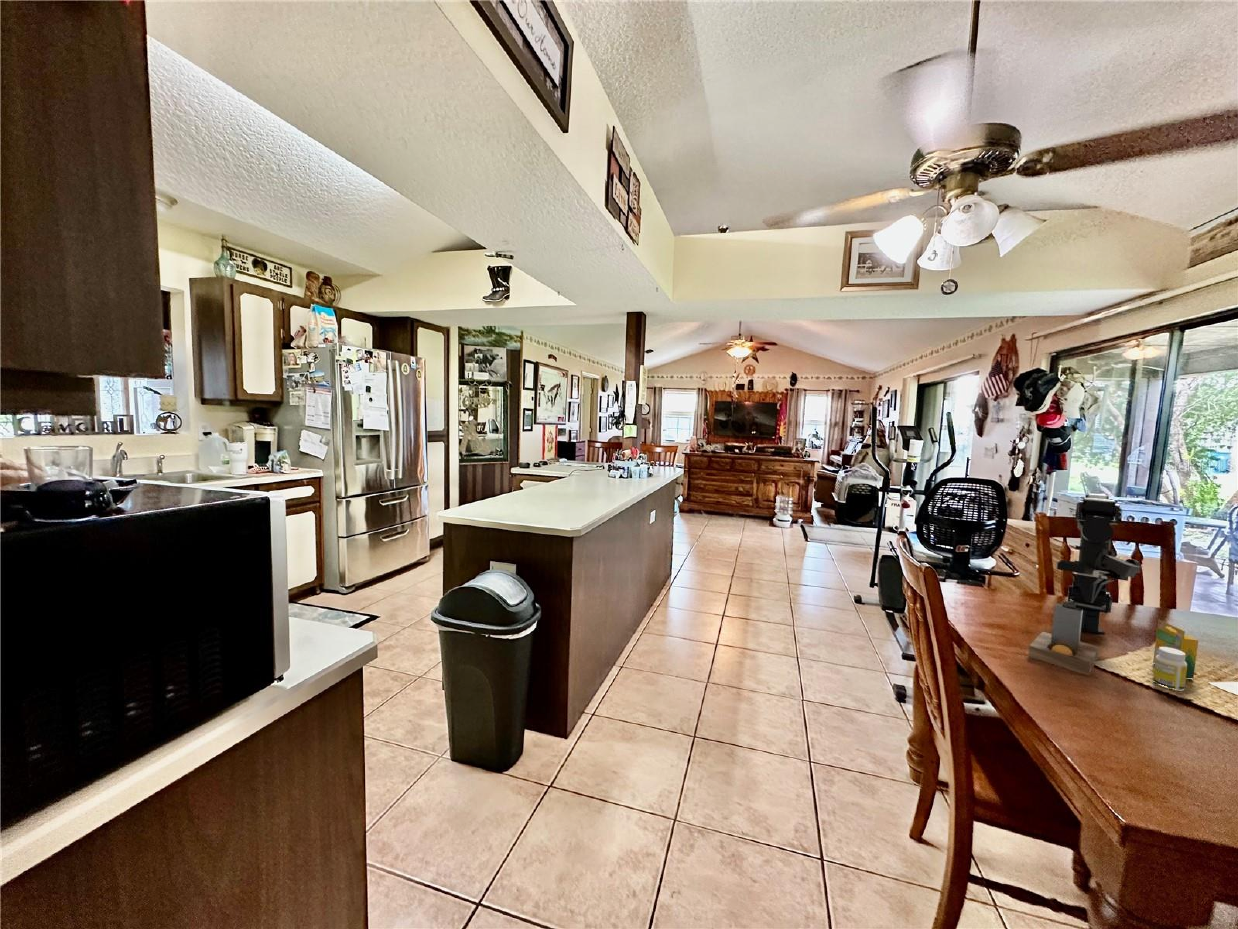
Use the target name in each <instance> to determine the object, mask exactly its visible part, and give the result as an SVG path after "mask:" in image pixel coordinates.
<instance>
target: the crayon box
mask: <svg viewBox="0 0 1238 929" xmlns="http://www.w3.org/2000/svg"><path fill="white" fill-rule="evenodd" d="M1156 629H1157V630H1156V636H1155V644H1154V646H1155V647H1154V651H1153V652H1154V653H1153V658H1152V664H1153V663H1155V657H1156V655H1159V654H1158V650H1159V647H1169V648H1173V649H1177V650H1180V651H1182V652H1184V653H1185V654H1186V655H1185V660H1184V661H1185V662H1186V663H1187V672H1186V678H1194V677H1195V671H1196V670H1195V668H1196V661H1197V655H1198V654H1197V653H1198V652H1197V651H1198V648H1199V640H1198V639H1195V638H1194V637H1191V636H1189V635H1187V634H1185V633H1186V632H1185V630H1184V629H1181V628H1178V627H1177V626H1174V625H1173V624H1169V623H1168V622H1165V621H1163V620H1161V619H1158V621H1157V628H1156ZM1194 679H1195V678H1194Z"/></svg>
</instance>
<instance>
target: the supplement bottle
mask: <svg viewBox="0 0 1238 929" xmlns="http://www.w3.org/2000/svg"><path fill="white" fill-rule="evenodd" d="M1158 654H1159V655H1156V657H1155V665H1153V666H1154V668H1153V675H1152V677H1153V678H1152V681H1155V682H1156V683H1157V684H1161V685H1164V686H1167V687H1168V688H1174V689H1177V690H1183V689H1184V690H1185V688H1186V681H1187V680H1186V672H1187V663H1186V662H1185V661H1184V660H1185V655H1186V654H1185V653H1184V652H1182V651H1180V650H1177V649H1173V648H1169V647H1159V650H1158ZM1157 684H1156V685H1157Z"/></svg>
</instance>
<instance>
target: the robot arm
mask: <svg viewBox="0 0 1238 929" xmlns="http://www.w3.org/2000/svg"><path fill="white" fill-rule="evenodd" d="M1078 501H1079V502H1076V506H1075V507H1076V509H1075V516H1074V517H1075V519H1074V521H1075V522H1077V529H1078V530H1079V532H1080V542H1079V545H1075V550H1078V551H1079V553H1078V560H1074V561H1072V560H1066V559H1060V560H1059V561H1057V562H1056V568H1055V569H1056V570H1058V571H1059V570H1060V571H1063V572H1065V571H1066V572H1070V576H1072V578H1073V579H1072V585H1068V591H1067V592H1068V594H1067V601H1070V602H1073V603H1075V604H1076V605H1075V608H1079V609H1083V614H1082V624H1081V632H1089V633H1097V634H1106V632H1105V630H1103V629H1101V628H1100V619H1101V613H1104V614H1108V613H1109V614H1110V613H1111V612H1112V603H1113V597H1112V596H1111V595H1110V594H1111V592H1110V591H1109V592H1108V591H1107V588H1108V587H1107V584H1108V583H1110V582H1111V583H1112V582H1114V581H1115V580H1119V581H1126V582H1129V578H1131V579H1134V578H1135V576H1136V574H1140V573H1141V572H1142V570H1141V568H1142V566H1141V563H1140V561H1138V560H1136V559H1133V558H1127V559H1122V558H1119V557H1116V552H1115V551H1114V550H1112V549H1111V541H1112V538H1113V537H1114V529H1113V527H1112V526H1113V525H1119V523H1122V521H1123V520H1122V519H1123V514H1122V513H1123V510H1122V508H1121V505H1120V504H1118V503H1116V502H1117V501H1116V500H1115V499H1110V495H1107V494H1103V493H1102V494H1101V493H1092V492H1091V493H1090V492H1089V493H1085V496H1084V497H1083V498H1082V499H1081V500H1078ZM1114 579H1115V580H1114Z"/></svg>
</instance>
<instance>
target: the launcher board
mask: <svg viewBox="0 0 1238 929" xmlns="http://www.w3.org/2000/svg"><path fill="white" fill-rule="evenodd" d="M1051 636H1052V633H1049V632H1045V631H1042V632H1041V633H1040V634H1039V635H1038V636H1037V637H1036V638H1035V639H1034V640H1033V641H1032V642H1031V644H1030V645H1029V647H1028V656H1027V657H1028V658H1029V657H1032V658H1031V659H1033V658H1034V659H1033V660H1036V659H1038V660H1037V661H1039V660H1041V661H1040V662H1043V661H1045V662H1044V663H1046V662H1047V663H1046V664H1049V663H1050V664H1049V665H1052V664H1054V665H1053V666H1056V665H1057V666H1056V667H1060V668H1062V667H1064V668H1063V669H1065V668H1066V669H1067V670H1070V671H1072V672H1075V671H1076V672H1075V673H1079V674H1082V675H1085V674H1086V675H1085V676H1089V675H1090V673H1091V671H1092V670H1093V668H1094V666H1095V665H1096V663H1097V661H1098V659H1099V654H1100V646H1098V645H1095V644H1090V643H1086V642H1082V641H1080V644H1079V649H1078V650H1075V649H1072V648H1069V649H1070V650H1071V651H1072V654H1073V655H1066V654H1062V653H1059V652H1055V651H1052V650H1051V649H1052V647H1053V646H1055V645H1057V644H1054V643H1051ZM1095 662H1096V663H1095ZM1094 664H1095V665H1094Z"/></svg>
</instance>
